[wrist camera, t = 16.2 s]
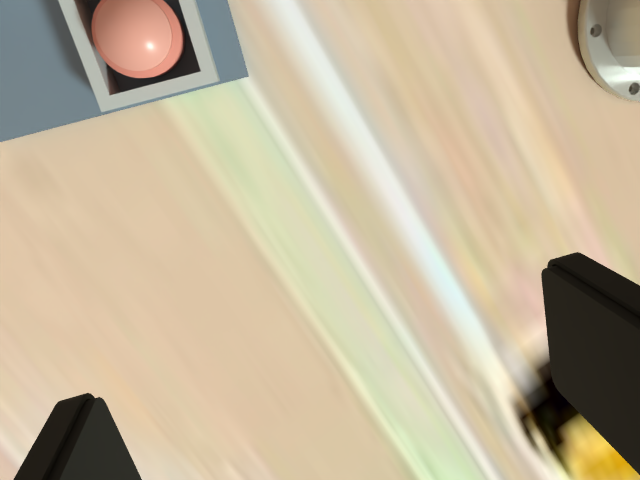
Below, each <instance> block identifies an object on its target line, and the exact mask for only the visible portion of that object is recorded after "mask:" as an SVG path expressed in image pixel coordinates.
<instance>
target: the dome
mask: <svg viewBox="0 0 640 480" xmlns="http://www.w3.org/2000/svg"><path fill="white" fill-rule="evenodd" d="M91 27H92V37H93V41H94V44H95V46H96V49H97V51H98V52H99V54H100V56H101V57H102V58H103V60H104V61H105V62H106V63H107V64H108V65H109V66H110V67H112V68H113V69H114V70H116V71H117V72H119V73H121V74H123V75H126V76H129V77H134V78H150V77H157V76H161V75H164V74H166V73H168V72H169V71H171V70H172V69H173V68H174V67H175V66H176V65H177V64H178V63H179V61H180V60H181V58H182V55H183V53H184V49H185V32H184V28H183V25H182V22H181V20H180V18H179V17H178V15H177V14H176V12H175V11H174V10H173V9H172V8H171V7H170V6H169V5H168V4H167V3H166V2H164V1H163V0H101V1H100V2H99V4H98V5H97V7H96V9H95V11H94V14H93V18H92V26H91Z"/></svg>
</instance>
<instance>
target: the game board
mask: <svg viewBox="0 0 640 480" xmlns="http://www.w3.org/2000/svg"><path fill="white" fill-rule="evenodd" d="M100 1H101V0H0V142H2V141H6V140H10V139H14V138H18V137H21V136H25V135H29V134H33V133H36V132H40V131H44V130H48V129H52V128H55V127H59V126H63V125H67V124H70V123H74V122H78V121H82V120H86V119H89V118H93V117H97V116H101V115H104V114H108V113H112V112H116V111H120V110H123V109H127V108H131V107H135V106H138V105H142V104H146V103H150V102H154V101H157V100H161V99H165V98H169V97H172V96H176V95H180V94H184V93H187V92H191V91H195V90H199V89H203V88H206V87H210V86H214V85H218V84H221V83H225V82H229V81H233V80H237V79H240V78H244V77H248V76H249V75H248V72H247V68H246V65H245V61H244V58H243V54H242V51H241V47H240V44H239V40H238V37H237V33H236V29H235V26H234V22H233V19H232V15H231V12H230V8H229V5H228V1H227V0H163V1H164V2H166V3H167V4H168V5H169V6H170V7H171V8H172V9H173V10H174V11H175V12H176V14H177V15H178V17H179V18H180V20H181V22H182V25H183V28H184V32H185V49H184V53H183V55H182V58H181V60H180V61H179V63H178V64H177V65H176V66H175V67H174V68H173V69H172V70H171V71H169V72H168V73H166V74H164V75H161V76H157V77H150V78H134V77H129V76H126V75H123V74H121V73H119V72H117V71H116V70H114V69H113V68H112V67H110V66H109V65H108V64H107V63H106V62H105V61H104V60H103V58H102V57H101V56H100V54H99V52H98V51H97V49H96V46H95V44H94V41H93V37H92V27H91V26H92V18H93V14H94V11H95V9H96V7H97V5H98V4H99V2H100Z"/></svg>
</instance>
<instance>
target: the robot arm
mask: <svg viewBox="0 0 640 480" xmlns="http://www.w3.org/2000/svg"><path fill="white" fill-rule="evenodd" d="M590 30H591V32H590ZM578 41H579V46H580V51H581V55H582V58H583V60H584V63H585V65H586V67H587V70H588V71H589V73H590V74H591V76H592V77H593V78H594V80H595V81H596V82H597V83H598V84H599V85H600V86H601V87H602V88H603V89H604V90H605V91H607V92H609V93H610V94H612V95H614V96H616V97H618V98H621V99H625V100H628V101H635V102H640V0H581V2H580V8H579V15H578ZM542 286H543V296H544V306H545V316H546V326H547V336H548V346H549V356H550V365H551V375H552V379H553V382H554V384H555V386H556V388H557V389H558V391H559V392H560V393H561V394H562V395H563V396H564V397H565V398H566V399H567V400H568V402H569V403H570V404H571V405H572V406H573V407H574V408H575V409H576V410H577V411H578V412H579V413H580V414H581V415H582V416H583V417H584V418H585V419H586V420H587V421H588V422H589V423H590V424H591V425H592V426H593V427H594V428H595V429H596V430H597V431H598V432H599V433H600V435H601V436H602V437H603V438H604V439H605V440H606V441H607V442H608V443H609V444H610V445H611V446H612V447H613V448H614V449H615V450H616V451H617V452H618V453H619V454H620V455H621V456H622V457H623V458H624V459H625V460H626V461H627V462H628V463H629V464H630V465H631V466H632V468H633V469H634V470H635V471H636V472H637V473H638V474H639V475H640V286H639V285H638V284H636V283H634V282H632V281H630V280H629V279H627V278H625V277H623V276H621V275H619V274H618V273H616V272H614V271H612V270H610V269H609V268H607V267H605V266H603V265H601V264H599V263H598V262H596V261H594V260H592V259H590V258H589V257H587V256H585V255H583V254H581V253H578V252H577V253H573V254H569V255H566V256H562V257H559V258H555V259H552V260H550V261H549V262H548V266H547V268H545V269H543V270H542ZM14 480H142V479H141V477H140V475H139V473H138V471H137V469H136V466H135V464H134V462H133V460H132V458H131V456H130V454H129V452H128V449H127V447H126V445H125V443H124V441H123V439H122V437H121V435H120V432H119V430H118V428H117V426H116V424H115V422H114V420H113V418H112V416H111V413H110V411H109V409H108V407H107V405H106V403H105V401H104V400H103V399H102V398H100V397H98V398H94V396H93V395H92V394H90V393H86V394H83V395H79V396H76V397H72V398H69V399H65V400H62V401H59V402H58V403H57V404H56V405H55V407H54V409H53V411H52V412H51V414H50V416H49V418H48V419H47V421H46V423H45V425H44V427H43V428H42V430H41V432H40V434H39V435H38V437H37V439H36V441H35V442H34V444H33V446H32V448H31V450H30V451H29V453H28V455H27V457H26V458H25V460H24V462H23V464H22V465H21V467H20V469H19V471H18V473H17V474H16V476H15V478H14Z"/></svg>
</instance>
